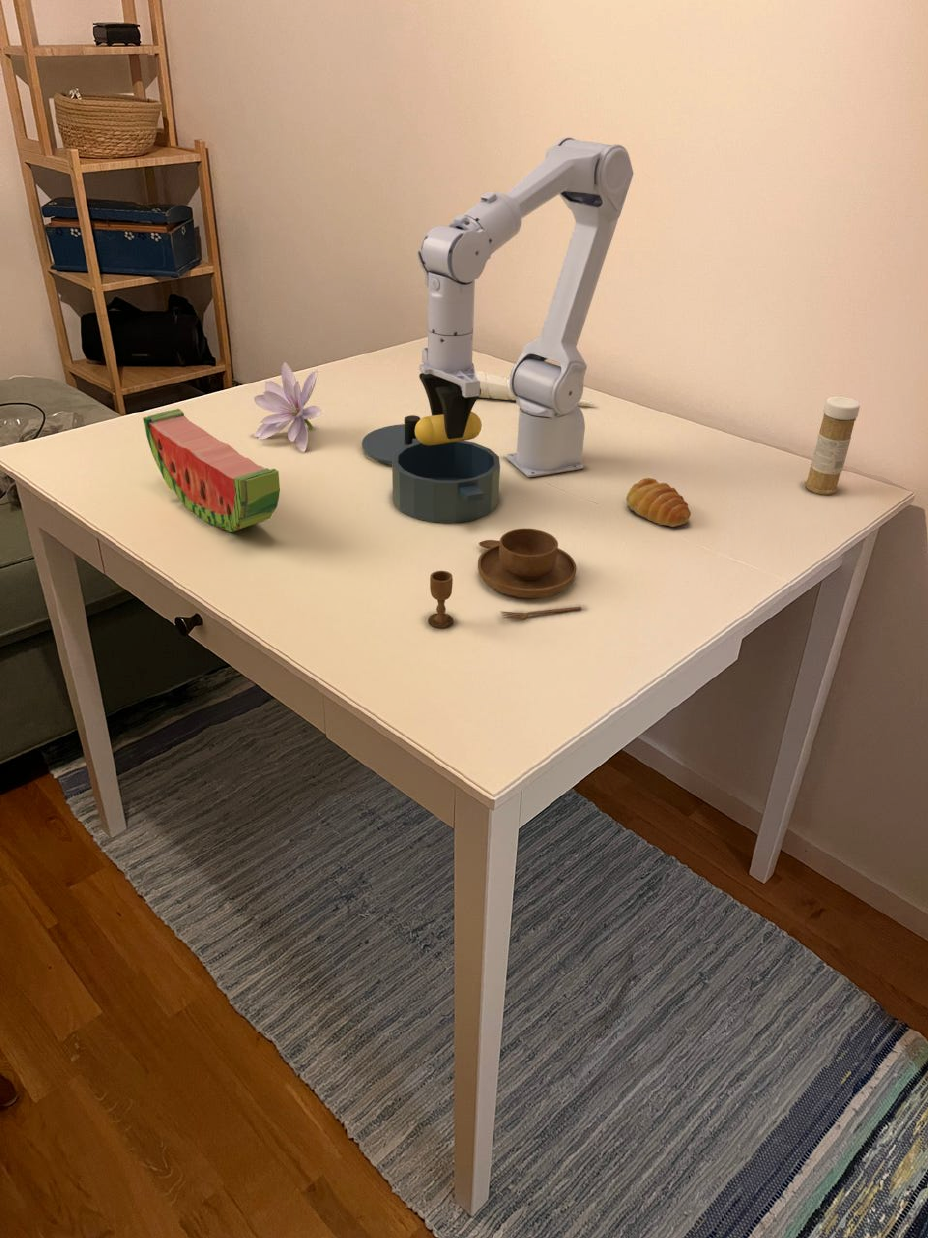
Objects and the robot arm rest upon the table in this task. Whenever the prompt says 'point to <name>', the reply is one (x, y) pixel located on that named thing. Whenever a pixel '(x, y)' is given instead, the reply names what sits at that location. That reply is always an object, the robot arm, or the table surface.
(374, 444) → the pot lid
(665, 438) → the table surface
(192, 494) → the fruit slice
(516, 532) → the place setting
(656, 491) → the pastry
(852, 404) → the sprinkles bottle
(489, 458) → the pot
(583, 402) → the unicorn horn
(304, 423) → the water lily
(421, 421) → the yellow rounded capsule
